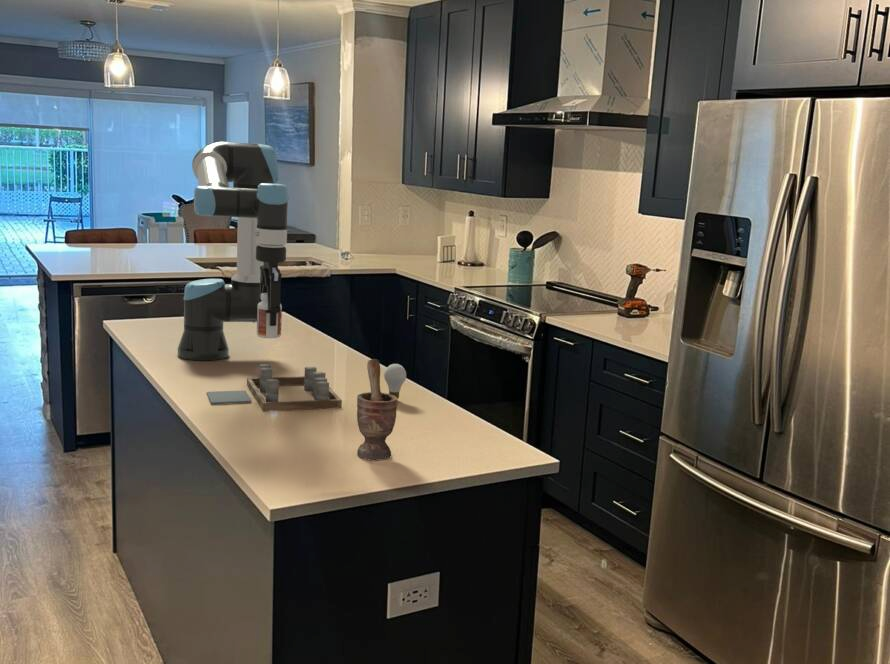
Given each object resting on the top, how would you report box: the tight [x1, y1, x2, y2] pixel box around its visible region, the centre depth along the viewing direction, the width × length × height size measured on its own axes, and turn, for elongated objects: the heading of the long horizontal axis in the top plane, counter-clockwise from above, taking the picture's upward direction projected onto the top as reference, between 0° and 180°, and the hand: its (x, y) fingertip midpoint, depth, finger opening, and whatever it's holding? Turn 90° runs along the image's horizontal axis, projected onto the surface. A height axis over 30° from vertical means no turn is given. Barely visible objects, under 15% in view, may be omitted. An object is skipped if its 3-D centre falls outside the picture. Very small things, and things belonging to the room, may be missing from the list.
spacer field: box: [246, 363, 343, 412], centre depth 230 cm, size 25×20×6 cm
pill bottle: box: [256, 293, 283, 339], centre depth 224 cm, size 6×6×11 cm
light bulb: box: [383, 363, 407, 400], centre depth 232 cm, size 6×6×10 cm
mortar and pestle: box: [356, 358, 398, 461], centre depth 189 cm, size 12×9×20 cm
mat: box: [206, 390, 253, 406], centre depth 225 cm, size 10×10×1 cm
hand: (268, 334), depth 225 cm, fingers closed on pill bottle, 6 cm apart
